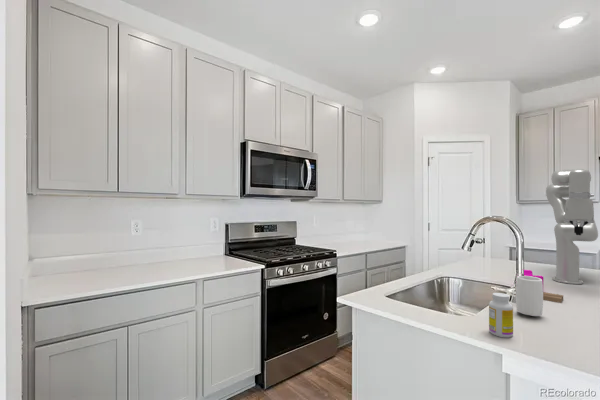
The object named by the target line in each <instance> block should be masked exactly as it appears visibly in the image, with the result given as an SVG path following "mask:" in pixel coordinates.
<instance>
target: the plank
mask: <svg viewBox="0 0 600 400" xmlns="http://www.w3.org/2000/svg"><path fill="white" fill-rule="evenodd" d="M563 300H564V295H563V294H558V293H552V292H546V291H543V301H549V302H554V303H558V304H559V303H560V304H562V303H563Z"/></svg>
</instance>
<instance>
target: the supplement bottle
mask: <svg viewBox="0 0 600 400" xmlns="http://www.w3.org/2000/svg"><path fill="white" fill-rule="evenodd" d="M491 296H492V300H490V302H489V303H488V330H489V333H490V334H492V335H494V336H495V337H500V338H508V339H509V338H512V337H513V336H514V307H513V305H512V303H511V302H509V301H510V295H509V294H507V293H504V292H493V293H492V295H491Z"/></svg>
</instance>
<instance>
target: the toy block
mask: <svg viewBox="0 0 600 400" xmlns="http://www.w3.org/2000/svg"><path fill="white" fill-rule="evenodd" d="M523 270H524V276H532V277H537V278H540V279H542V283H543V284H544V276H543V275H534V274H533V270H531V269H523Z"/></svg>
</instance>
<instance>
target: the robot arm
mask: <svg viewBox="0 0 600 400" xmlns="http://www.w3.org/2000/svg"><path fill="white" fill-rule="evenodd" d="M591 181H592V176H591V172H590V170H587V169H583V168H577V169H562V170H555V171H553V172H552V174H551V184H549V185H548V186H547V187H546V189H545V196H546V199H547V201H548V203H549V204H550V206H551V207H552V209H553V215H554V219H555V222H556V223H557V224H555V226H554V230H553V231H554V232H553V233H554V237H555V244H556V247H555V251H556V253H555V255H556V256H555V258H556V259H555V260H556V261H555V262H556V265H555V266H556V268H555V276H553V277H552V280H553V281H555V282H558V283H562V284H569V285H582V284H584V281H583V280H582V279H580V248H579V247H578V246H577V245H576V244H575V243H574V242H595V241H596V240H597V239H598V237H599V231H598V227H597V224H596V221H595V218H594V217H595V211H594V210H595V208H594V202H593V199H592V197H595V193H591ZM564 198H565V199H564ZM566 198H567V199H566Z"/></svg>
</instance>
